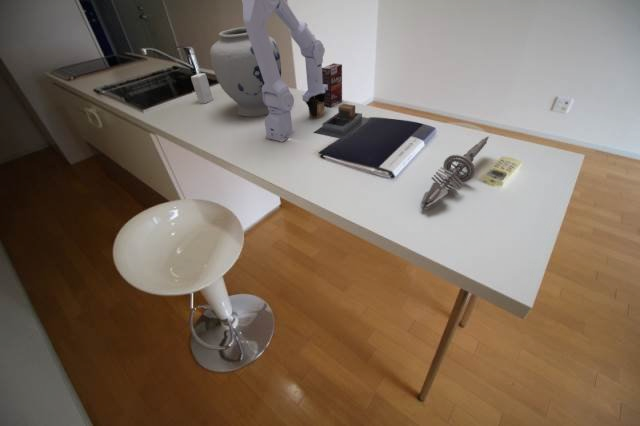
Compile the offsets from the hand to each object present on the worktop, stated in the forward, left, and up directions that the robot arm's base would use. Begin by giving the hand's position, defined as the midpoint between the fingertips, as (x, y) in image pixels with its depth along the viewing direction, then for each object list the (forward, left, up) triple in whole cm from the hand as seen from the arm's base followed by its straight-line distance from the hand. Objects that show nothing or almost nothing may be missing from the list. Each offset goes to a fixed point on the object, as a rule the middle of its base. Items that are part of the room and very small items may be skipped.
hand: (317, 113), depth 114 cm
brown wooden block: (-1, -14, -1) cm, 14 cm away
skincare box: (-5, +61, -2) cm, 61 cm away
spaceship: (-21, -58, -2) cm, 61 cm away
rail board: (-4, -14, -2) cm, 15 cm away
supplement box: (+14, +1, -2) cm, 14 cm away
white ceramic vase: (-3, +30, -2) cm, 30 cm away
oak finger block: (0, 0, -2) cm, 2 cm away
